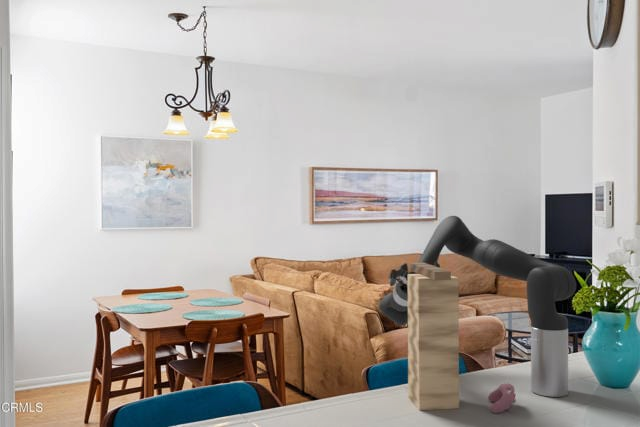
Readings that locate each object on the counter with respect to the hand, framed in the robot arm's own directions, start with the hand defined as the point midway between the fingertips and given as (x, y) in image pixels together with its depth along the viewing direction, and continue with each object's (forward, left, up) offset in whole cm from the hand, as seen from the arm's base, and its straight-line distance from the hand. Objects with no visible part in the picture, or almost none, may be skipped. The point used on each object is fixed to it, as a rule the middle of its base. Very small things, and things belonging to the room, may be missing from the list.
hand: (421, 266), depth 161 cm
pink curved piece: (+2, +22, -34) cm, 40 cm away
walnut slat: (+5, +4, -2) cm, 6 cm away
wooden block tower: (+7, +6, -34) cm, 35 cm away
